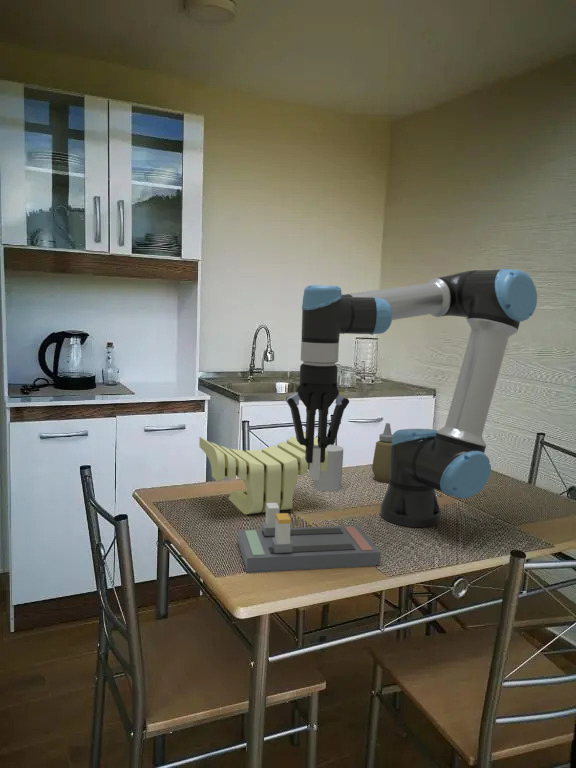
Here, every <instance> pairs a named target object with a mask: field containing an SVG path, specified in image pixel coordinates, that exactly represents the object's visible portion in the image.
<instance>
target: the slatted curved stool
mask: <svg viewBox="0 0 576 768" xmlns="http://www.w3.org/2000/svg"><path fill="white" fill-rule="evenodd" d="M303 433H304V438H305V437H306V431H304V430H303ZM198 441H199V442H198V443H199V445H198V446H199V448H200V449H201V450H202V451H203V453H204V454H205V455H206V457H207V458H208V460H209V464H210V468H211V478H212V479H214V480H215V481H216V482H220V481H223V480H225V479H226V478H227V479H234V478H236V477H237V478H239V479H242V481H243V483H244V484H245V489H246V490H244V491H242V490H236V491H231V493H230V495H229V497H228V498H227V499H228V501H230V502H231V503H232V504H233V505H234V506H235V507H236V508H237V509H238V510H239V511H240V512H241V513H243V514H244V515H253V514H260V513H266V503H277V504H278V506H279V508H280V511H286V510H293V499H294V493H295V490H296V487H297V484H298V481H299V476H300V477H302V476H304V475H305V474H306V473H309V468H310V463H307V462H306V460H305V451H306V447H305V446H304V445H301V444H300V443H299V442H298V441H297V438H296V436H295V437H294V436H292V437H290V438H288V439H286V442H285V441H282V442H279V443H277V445H272V446H269V447H268V446H267V447H264V448H261V450H260V449H253V450H252V449H249V450H247V449H246V450H245V451H244V450H243V449H234V448H228V447H225V446H222V445H218V444H217V443H215V442H212V441H209V440H207V439H205V438H203V437H201V436H199V440H198ZM314 445H318V437H315V436H314ZM327 466H328V451H327V448H325V461H324V463H320V470H321V471H326V472H327Z"/></svg>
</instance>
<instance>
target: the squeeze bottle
mask: <svg viewBox="0 0 576 768" xmlns="http://www.w3.org/2000/svg"><path fill="white" fill-rule="evenodd" d="M392 437H393V434H392V429H391V424H390V422H389V423H388V422H387V423H386V422H385V426H384V430H383V433H380V434H379V440H378V441H376V442H375V447H374V448H375V449H374V455H373V459H372V464H371V466H372V467H371V469H372V473H373V477H374V479H375V480H376V481H377V482H380V483H389V479H390V459H391V444H392Z"/></svg>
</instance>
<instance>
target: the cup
mask: <svg viewBox="0 0 576 768" xmlns="http://www.w3.org/2000/svg"><path fill="white" fill-rule="evenodd" d="M327 451H328V466H327V472H326V471H321V470H320V476H319V480H313V488H314V489H315V490H317V491H320V490H321V492H325V491H328V492H327V493H332V492H334V491H335V492H339V491H341V490H342V481H343V464H344V462H343V461H344V447H342V446H340V445H335V444H333V445H328V446H327Z"/></svg>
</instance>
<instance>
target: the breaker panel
mask: <svg viewBox="0 0 576 768" xmlns="http://www.w3.org/2000/svg"><path fill="white" fill-rule="evenodd" d="M280 511H281V510H280V508H279V506H278V504H277V503H266V512H265V521H262V526H261V527H262V528H257V529H256V528H254V529H251V528H250V529H238V533H237V534H238V536H237V539H238V540H237V543H238V546H239V550H240V555H241V557H242V561H243V564H244V568H245V571H246V573H261V572H263V573H266V572H281V571H282V572H283V571H300V570H301V571H305V570H307V571H308V570H321V569H324V570H325V569H327V570H328V569H340V568H341V569H342V568H346V569H347V568H362V567H363V566H366V567H377V566H376V565H380V566H381V555H382V552H381V550H380V549H379V548H378V547H377V545H375V544H374V543H373V540H371V539H370V537H369V536H368V535H367V533H365V531H364V530H363V529H362V528H361V527H360V526H359V525H337V526H336V525H335V526H310V527H308V526H306V527H290V540H291V542H292V544H293V545H292V552H288V553H275V552H274V550H273V548H272V538H275V523H276V517H275V516H276V514H277V513H281V512H280ZM361 566H362V567H361ZM363 568H364V567H363Z"/></svg>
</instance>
